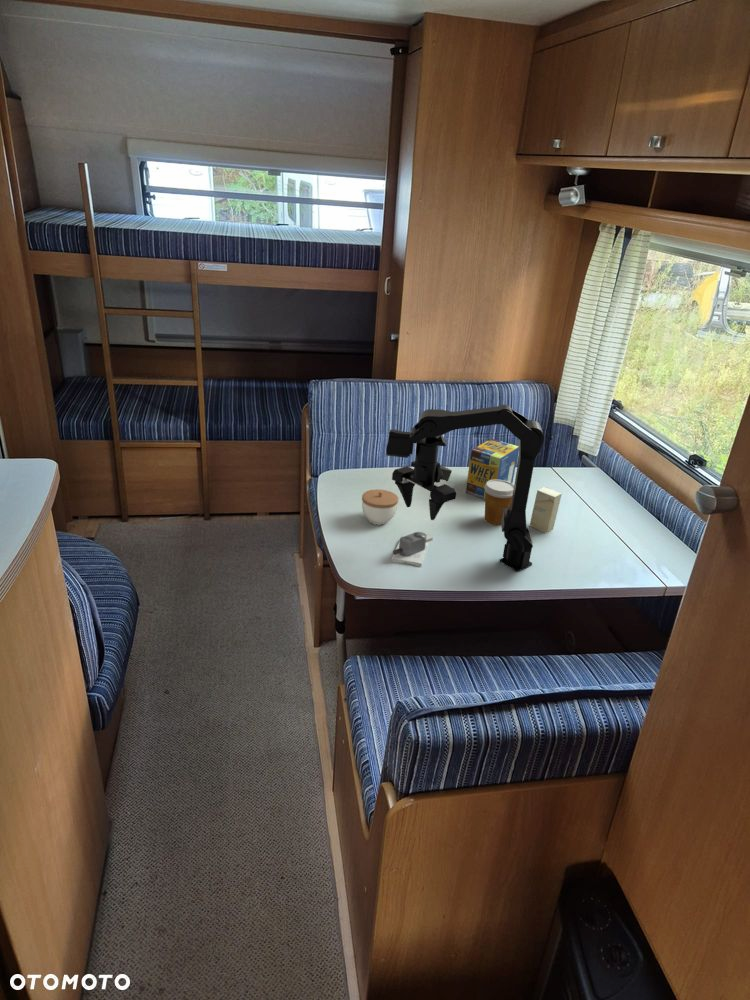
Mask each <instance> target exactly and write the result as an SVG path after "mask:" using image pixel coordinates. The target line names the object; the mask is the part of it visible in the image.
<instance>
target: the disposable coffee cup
mask: <svg viewBox="0 0 750 1000" xmlns="http://www.w3.org/2000/svg"><path fill="white" fill-rule="evenodd" d="M514 484H515V483H514ZM514 484H513V483H510V482H508V481H505V480H496V479H495V480H489V481H488V482H487V483H486V485H485V486H484V489H485V499H484V522H485V523H487V524H489V525H492V526H501V519H502V517H503V508H505V509H508V508H509V507H510V505H511V501H512V495H513V489H514Z"/></svg>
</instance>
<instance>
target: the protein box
mask: <svg viewBox="0 0 750 1000" xmlns="http://www.w3.org/2000/svg"><path fill="white" fill-rule="evenodd" d="M518 455H519V445H515V444H511V443H508V442H505V441H501V440H498V439H494V438H490V439H488V440H487V441H484V442H483V443H481V444H479V445H478V446H476V447H475V448H473V449H471V451H470V457H469V465H468V471H467V478H466V487H465V494H469V495H472V496H474V497H477V498H481V499H484V500H485V489H484V486H485V485H486V483H487V482H488V481H489V480H495V479H496V480H505V481H508V482H510V483H512V484H513V482H514V477H515V473H516V468H517V467H516V466H517V462H518V461H517V460H518V457H519V456H518Z"/></svg>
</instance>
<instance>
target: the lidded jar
mask: <svg viewBox="0 0 750 1000" xmlns="http://www.w3.org/2000/svg"><path fill="white" fill-rule="evenodd" d="M361 500H362V501H361V508H362V513H363V515H364V517H365V518H366V519H367V520H369V521H368V522H369V523H370V522H371V523H370V524H372V523H373V525H376V524H377V525H376V526H382V525H381V524H384V525H387V524H388V523H389V522H390V521H391V520H393V518H394V517H395V515H396V512H397V510H398V503H399V496H398V495H397V494H396V493H394V492H392V491H389V490H386V489H378V488H377V489H370V490H367V491H365V492H363V494H362V495H361ZM386 523H387V524H386Z"/></svg>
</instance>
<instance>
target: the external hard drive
mask: <svg viewBox="0 0 750 1000" xmlns="http://www.w3.org/2000/svg"><path fill="white" fill-rule="evenodd" d="M399 543H400V539H399V541H398V543H397V545H396V549H399ZM428 545H430V541H429V542H427V543H426V544H425V550H423V551H421V552H418V553H415V554H413V555H410V556H402V555H400V554H399V553H398V554H396V555H394V554H393V555H392V557H391V562H394V561H395V563H400V564H407V563H408V564H409V565H410V564H411V566H416V565H417V566H418V567H422V566H423V564H422V563H424V561H423V560H424V559H425V558H424V557H426V555H425V554H427V552H426V551H428V549H429V546H428ZM427 548H428V549H427ZM396 549H395V550H396ZM417 566H416V567H417Z"/></svg>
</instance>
